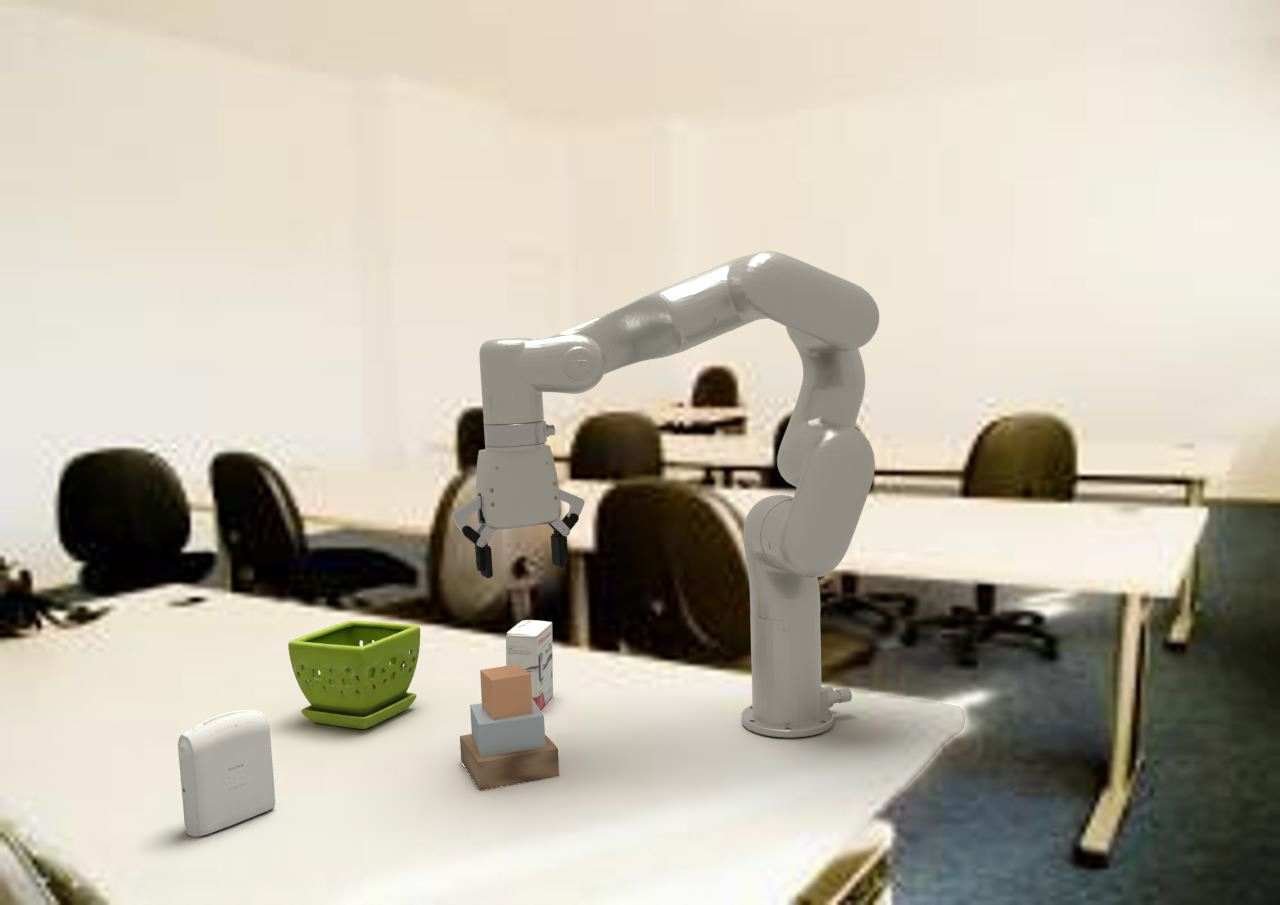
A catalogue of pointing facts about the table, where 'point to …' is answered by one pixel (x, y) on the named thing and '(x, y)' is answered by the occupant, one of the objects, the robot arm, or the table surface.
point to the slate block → (507, 731)
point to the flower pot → (356, 672)
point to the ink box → (533, 656)
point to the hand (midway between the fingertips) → (523, 570)
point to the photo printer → (226, 771)
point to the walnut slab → (509, 764)
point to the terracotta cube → (506, 691)
